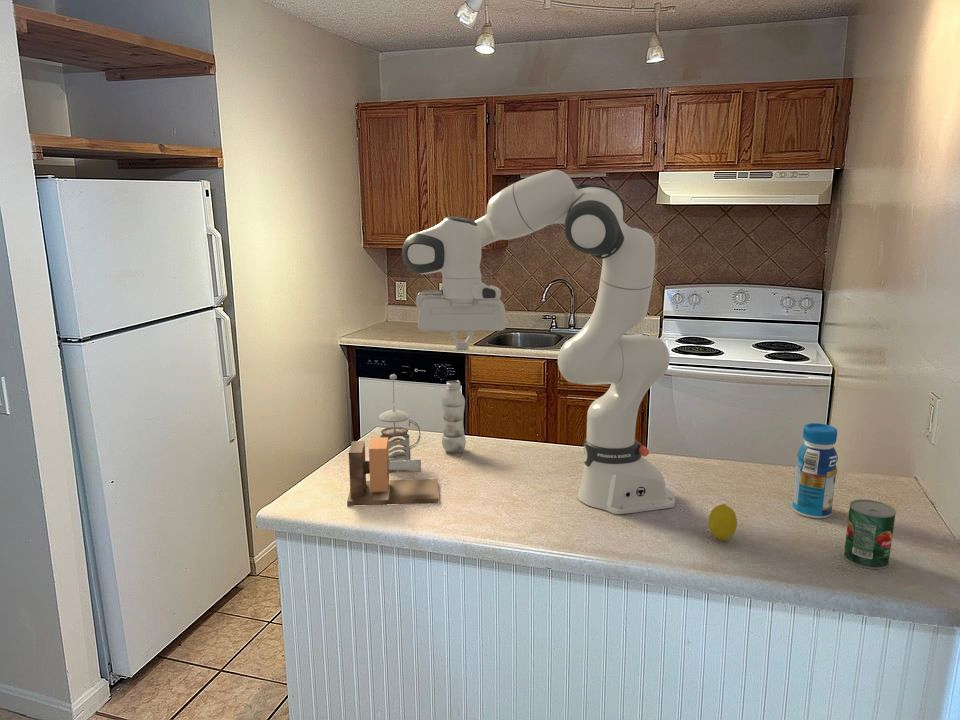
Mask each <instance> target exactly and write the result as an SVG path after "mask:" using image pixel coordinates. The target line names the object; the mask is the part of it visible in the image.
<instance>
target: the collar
mask: <svg viewBox="0 0 960 720" xmlns="http://www.w3.org/2000/svg"><path fill="white" fill-rule="evenodd" d="M388 441H389V440H388V437H381V438H380V437H370V442H369V446H368V459H369V460H368V461H369V467H370V474H369V481H370V492H381V491H388V485H389V480H390V473H388V468H387V461H388V460H389V455H390V453H389V451H390V450H389V449H388Z"/></svg>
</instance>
